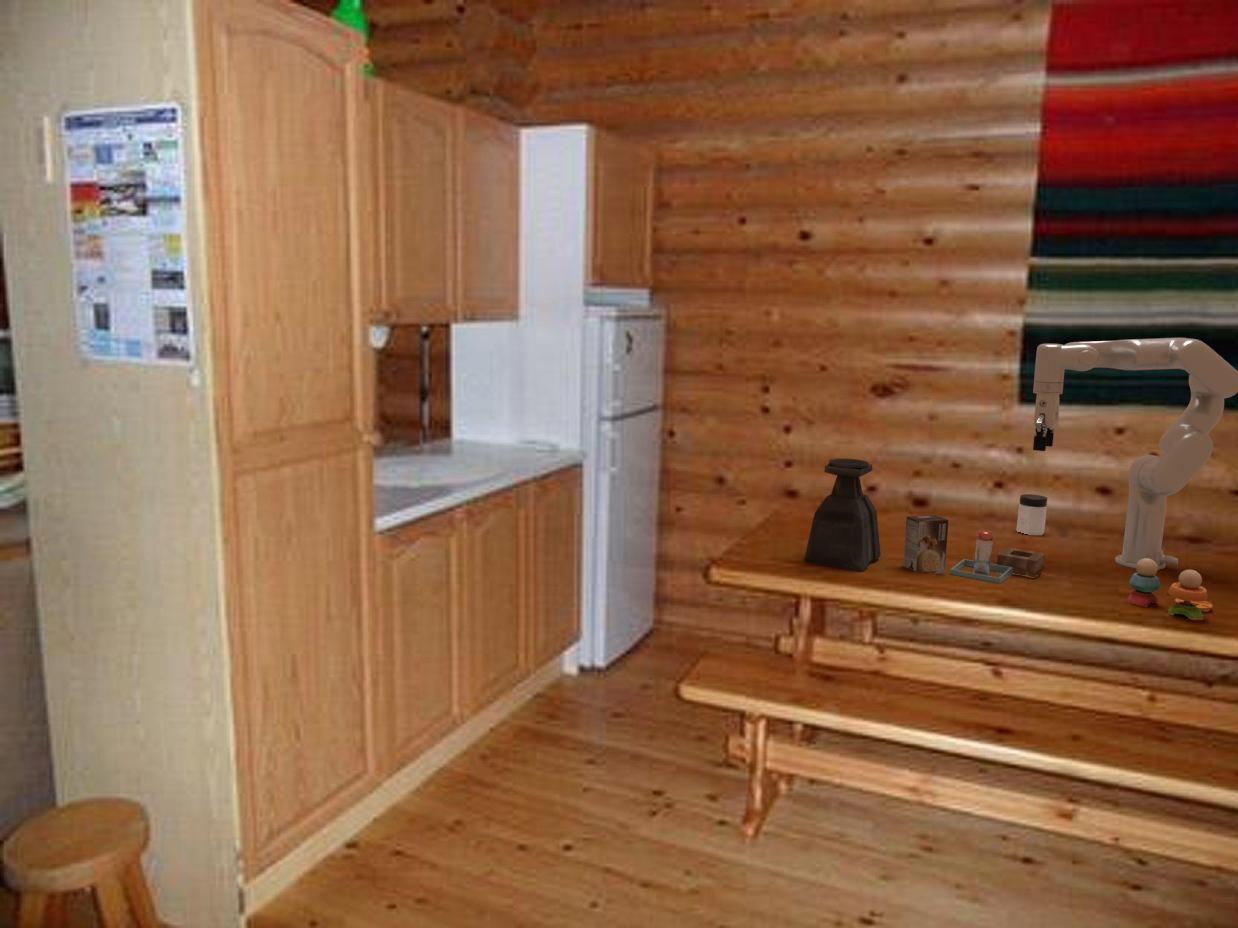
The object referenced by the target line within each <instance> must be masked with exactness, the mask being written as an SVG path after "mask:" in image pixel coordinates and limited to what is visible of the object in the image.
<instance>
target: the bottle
mask: <svg viewBox="0 0 1238 928" xmlns="http://www.w3.org/2000/svg"><path fill="white" fill-rule="evenodd" d="M872 471H873V463H870V462H869V461H866V460H863V459H856V458H838V457H837V458H833V459H828V464H825V465H824V473H826V474H829V475H834V476H836V477H835V478H836V479H835V481H834V485H833V487H832V491H831V493H830V494H828V495H827V496H825V498H824V499H823V500H822V502H821V503H820V504H819V506H818V508H817V509H816V510H815V512H814V514H813V519H812V524H811V527H810V531H809V536H808V539H807V540H808V541H807V545H806V548H805V554H804V558H803V560H804V562H805V563H811V564H814V565H815V564H817V565H822V566H829V567H833V568H839V569H846V570H851V571H857V572H863V571H865V570H866V569H867V568H868V567H869V565H870V563H874V562H876V561H877V560H879V559H880V557H881V556H882V553H881V544H880V533H879V523H878V522H879V521H878V515H877V514H878V512H877V509H876V507H875V505H874V504H873V503H872V501H871V499H870V497H869V496H868V494H865V493H863V488H862V483H861V478H860V477H862V476H865V475H867V474H869V473H871V472H872Z"/></svg>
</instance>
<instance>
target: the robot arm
mask: <svg viewBox="0 0 1238 928" xmlns="http://www.w3.org/2000/svg"><path fill="white" fill-rule="evenodd" d="M1035 356H1036V357H1035V365H1034V377H1033V390H1032V391H1033V392H1032V393H1033V394H1036V399H1035V407H1034V415H1033V416H1034V418H1033V427H1034V428H1035V431H1034V435H1033V446H1032V451H1037V452H1038V451H1039V452H1045V451H1046V450H1047V447H1050V448H1051V447H1053V444H1054V433H1055V432H1054V431H1055V428H1057V427H1058V426H1059V419H1060V395H1062V394H1063V391H1064V378H1065V370H1070V371H1077V372H1086V371H1089V370H1092V369H1093V368H1102V369H1103V368H1104V369H1105V368H1107V369H1108V368H1109V369H1115V370H1123V371H1151V370H1184V371H1185V372H1186V373H1188V374H1189V375H1188V385H1189V388H1190V401H1189V403H1188V405H1187V407H1186V408H1185V410H1184V411H1183V412H1182V413H1181V414H1180V416H1179V417H1178V418H1177V419H1176V420H1175V421H1174V422H1173V423H1172V424H1171V425H1170V426H1169V428H1168V429H1167V430H1166V431H1165V432H1164V433H1163V434H1162V436H1160V439H1159V442H1158V444H1159V446H1158V447H1159V449H1160V451H1161V452H1162V453H1163V454H1164V455H1163V457H1162V456H1161V457H1160V456H1158V455H1155V454H1144V455H1141V456H1139V457H1137V458H1136V459H1134V460H1133V462H1132V463H1131V464H1130V466H1129V470H1128V487H1129V488H1128V502H1127V511H1126V521H1125V528H1124V536H1123V545H1122V552H1121V554H1119V555H1116V556H1115V558H1114V560H1115V563H1116V564H1119V565H1121V566H1123V567H1128V568H1132V569H1136V564H1137V562H1138V561H1139V560H1141V559H1144V558H1149V559H1152V560H1153V561H1155V562H1156V564H1157V566H1158V570H1157V571H1160V569H1161V570H1164V569H1165V568H1166V564H1170V565H1176V566H1177V565H1178V564H1179V557H1175V555H1174V556H1173V555H1165V553H1164V550H1163V549H1162V544H1163V543H1162V542H1163V538H1164V537H1163V536H1164V528H1165V520H1166V513H1167V506H1168V504H1167V503H1168V501H1167V500H1168V499H1167V496H1171V495H1174V494H1176V493H1178V492H1180V491H1181V490H1182V489H1183V488H1184V487H1186V485H1187V484H1188V483H1189V482H1190V481H1191V479H1193V477H1194V476H1196V474H1197V473H1198V472H1199V471H1200V470H1201V469H1203V467H1204V466H1205V465H1206V463H1207V462H1208V461H1209V459H1210V457H1211V456H1212V455H1213V450H1214V442H1213V439H1212V437H1210V435H1209V434H1210V433H1211V432H1212V430H1214V428H1215V427H1216V426H1217V424H1218V423H1219V422H1220V420H1221V418H1222V416H1223V413H1224V408H1225V399H1228V398H1231V397H1233V396H1235V395H1236V394H1237V393H1238V370H1237V369H1236V368H1235V367H1234V366H1233V365H1231V364H1230V363H1229V362H1228V361H1227V360H1225V359H1224V358H1223V357H1222V356H1221V355H1220V354H1218V353H1217V352H1216V351H1215V350H1214V349H1213V348H1212V347H1210V346H1209V345H1208V344H1206V343H1204V341H1202V340H1200V339H1196V338H1188V337H1163V338H1162V337H1160V338H1140V339H1139V338H1136V339H1135V338H1134V339H1117V340H1101V341H1100V340H1099V341H1098V340H1097V341H1092V340H1091V341H1073V342H1068V343H1065V344H1060V343H1041V344H1039V345H1038V346H1037V348H1036V355H1035Z"/></svg>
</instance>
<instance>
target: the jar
mask: <svg viewBox="0 0 1238 928" xmlns="http://www.w3.org/2000/svg"><path fill="white" fill-rule="evenodd" d="M1047 504H1048V497H1047V496H1044V495H1040V494H1032V493H1025V494H1020V496H1019V504H1018V511H1017V522H1016V531H1017V532H1016V533H1018V532H1021V533H1020V534H1022V533H1024V534H1023V535H1025V534H1028V535H1027V536H1043V535H1044V533H1045V530H1046V529H1045V528H1046V520H1047V510H1048V505H1047Z"/></svg>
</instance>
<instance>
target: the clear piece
mask: <svg viewBox="0 0 1238 928" xmlns="http://www.w3.org/2000/svg"><path fill="white" fill-rule="evenodd" d="M993 540H994V531H991V530H988V529H987V530H986V529H985V530H984V529H979V530H977V533H976V544H975V552H974V553H975V554H974V560H973V561H974V567H973V572H972V573H976V574H982V575H987V576H990V571H991V570H990V564H991V559H992V550H993Z"/></svg>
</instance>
